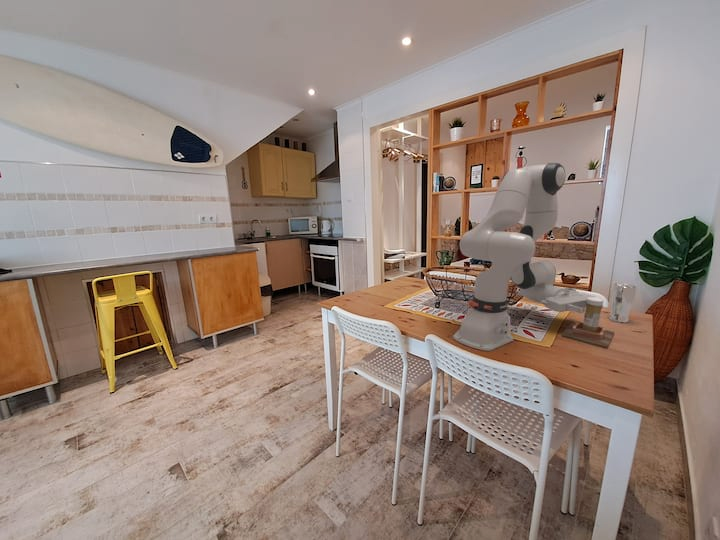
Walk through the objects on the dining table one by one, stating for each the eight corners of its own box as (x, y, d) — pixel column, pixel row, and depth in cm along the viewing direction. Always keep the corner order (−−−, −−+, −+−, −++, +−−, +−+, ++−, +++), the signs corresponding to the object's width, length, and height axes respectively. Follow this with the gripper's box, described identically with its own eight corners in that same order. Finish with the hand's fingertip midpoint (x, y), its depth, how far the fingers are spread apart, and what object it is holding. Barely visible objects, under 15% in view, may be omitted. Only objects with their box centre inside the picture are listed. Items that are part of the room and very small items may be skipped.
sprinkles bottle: (578, 330, 107) (584, 296, 104) (590, 330, 107) (596, 296, 104) (587, 335, 102) (593, 300, 99) (600, 335, 102) (606, 300, 99)
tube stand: (607, 348, 95) (608, 341, 94) (561, 336, 104) (562, 329, 104) (613, 333, 105) (615, 326, 105) (571, 323, 115) (572, 317, 114)
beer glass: (634, 323, 114) (642, 287, 111) (617, 323, 114) (624, 288, 111) (619, 316, 121) (626, 283, 118) (603, 316, 121) (609, 283, 118)
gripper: (537, 293, 112) (572, 304, 99) (575, 287, 117) (613, 297, 105) (535, 308, 113) (570, 321, 100) (573, 302, 119) (610, 313, 106)
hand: (592, 309), depth 102 cm, fingers open, 8 cm apart
